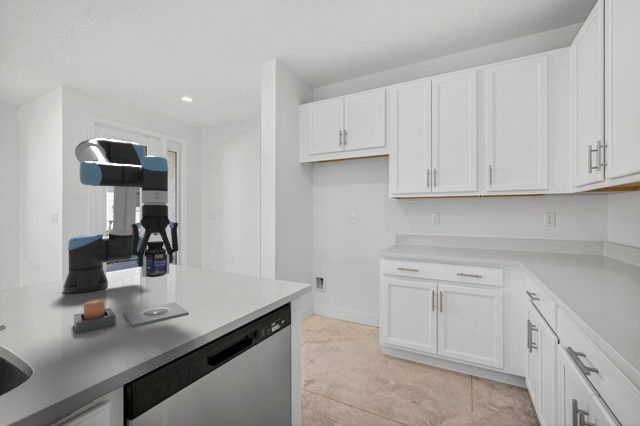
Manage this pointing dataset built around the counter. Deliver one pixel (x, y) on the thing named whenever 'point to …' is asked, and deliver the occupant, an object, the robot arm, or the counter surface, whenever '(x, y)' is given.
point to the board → (154, 314)
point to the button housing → (94, 321)
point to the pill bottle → (155, 259)
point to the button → (94, 309)
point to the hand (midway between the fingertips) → (155, 274)
